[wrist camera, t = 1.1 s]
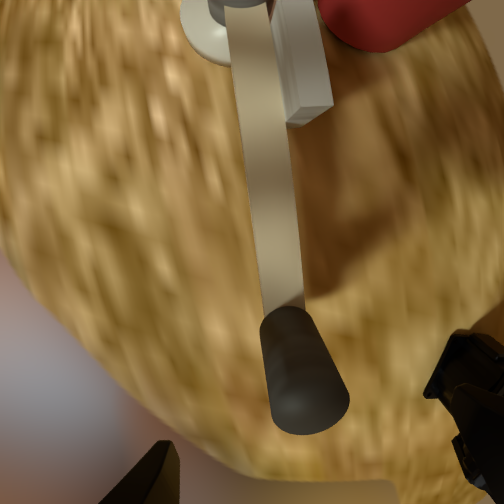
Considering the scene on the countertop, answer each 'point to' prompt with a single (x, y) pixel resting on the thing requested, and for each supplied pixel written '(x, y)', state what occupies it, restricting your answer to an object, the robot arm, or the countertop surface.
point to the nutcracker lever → (282, 196)
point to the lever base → (206, 31)
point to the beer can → (382, 20)
